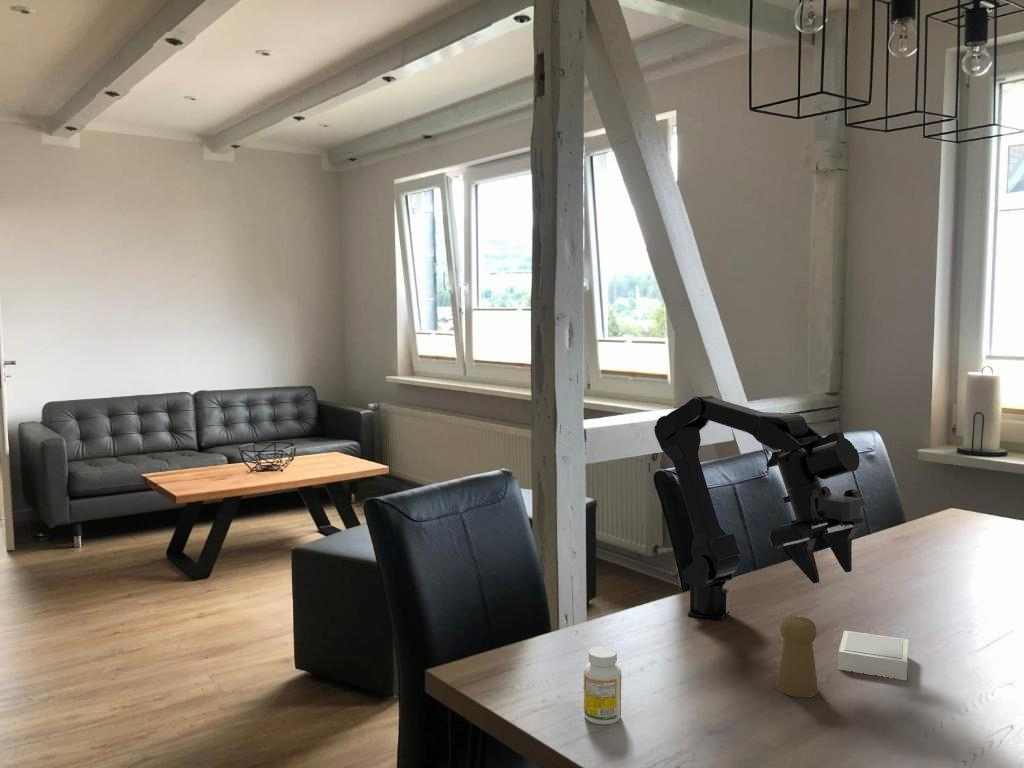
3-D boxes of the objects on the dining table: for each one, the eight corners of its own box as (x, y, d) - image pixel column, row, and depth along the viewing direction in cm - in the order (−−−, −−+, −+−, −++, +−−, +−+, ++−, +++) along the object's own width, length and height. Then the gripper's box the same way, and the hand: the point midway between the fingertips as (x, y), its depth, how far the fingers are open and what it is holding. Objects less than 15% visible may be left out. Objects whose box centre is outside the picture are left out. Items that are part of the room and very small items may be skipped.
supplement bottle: (607, 729, 118) (607, 662, 118) (576, 718, 122) (576, 653, 121) (628, 715, 122) (628, 650, 122) (597, 704, 126) (597, 641, 125)
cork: (821, 699, 127) (822, 627, 126) (778, 695, 128) (780, 624, 127) (815, 681, 133) (816, 613, 132) (774, 678, 134) (775, 611, 133)
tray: (838, 669, 137) (838, 650, 137) (843, 647, 146) (844, 629, 146) (906, 680, 133) (907, 661, 132) (907, 657, 142) (908, 638, 141)
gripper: (809, 482, 133) (841, 581, 129) (874, 467, 144) (906, 559, 140) (754, 497, 141) (783, 591, 138) (820, 483, 152) (848, 569, 149)
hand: (832, 577), depth 141 cm, fingers open, 9 cm apart
